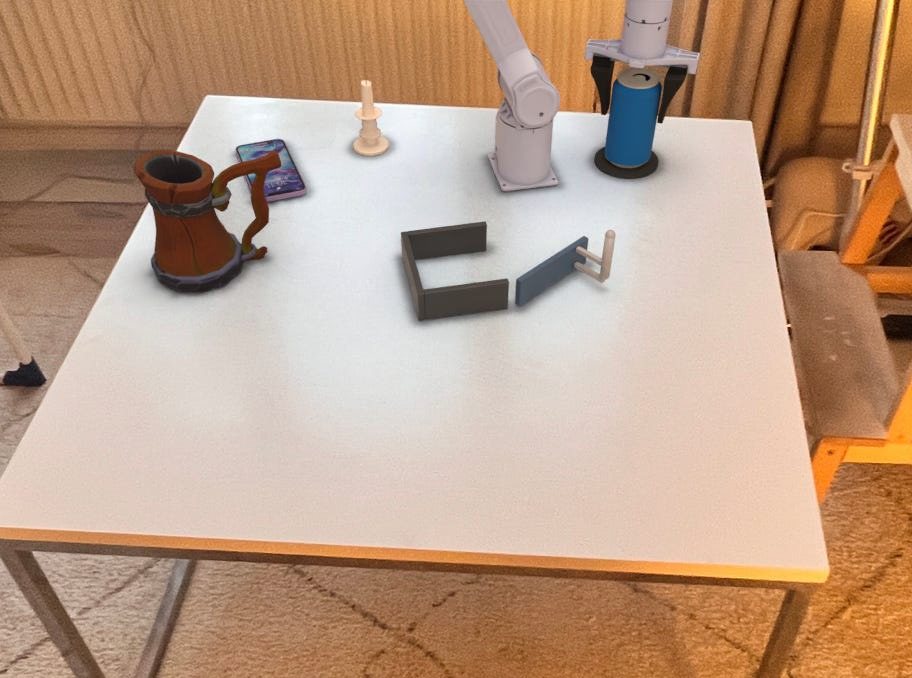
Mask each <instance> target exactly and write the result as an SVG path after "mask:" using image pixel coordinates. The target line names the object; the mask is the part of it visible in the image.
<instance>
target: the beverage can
mask: <svg viewBox="0 0 912 678" xmlns="http://www.w3.org/2000/svg"><path fill="white" fill-rule="evenodd" d="M612 83H613V84H612V87H611V98H610V106H609V111H608V112H609V113H608V120H607V128H606V136H605V145H604V147H605V152H604V154H605V157H606V158H607V159H608V160H609V161H610V162H611V163H612V164H614V165H616V166H618V167H621V168H635V167H639V166H641V165H642V164H644V163H646V162H647V161H648V160H649V159H650V157H651V151H653V145H654V139H655V133H656V127H657V119H658V114H659V110H660V104H661V98H662V92H663V85H662V83H661V75H659V73H657V71H655V70H652V69H649V68H646V67H644V68H635V67H628V68H624V69H622V70H620V71H619V72H618V73H617V77H616V79H615V80H614V81H613V82H612Z"/></svg>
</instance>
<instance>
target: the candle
mask: <svg viewBox="0 0 912 678" xmlns="http://www.w3.org/2000/svg"><path fill="white" fill-rule="evenodd" d="M360 90H361V91H360V92H361V93H360V95H361V107H359V108H357V109H356V110H355V111H354V116H355V118H357V119H359V120H361V128H360V129H359V131H358V135H359V137H358V138H356V139H355V140H354V142H353V144H352V146H353V150H354V152H355V153H356V154H358V155H360V156H363V157H377V156H380V155H383V154H384V153H385V152H387V151H388V150H389V147H390V144H389V140H388V139H387V138H385V137H384V136H382V131H381V129H380V128H379V127H378V121H377V119H379V118H381V116H382V114H383V112H382V109H381V108H380V107H377V106H375V104H374V95H373V94H374V91H373V84H372V81H370V80H368V79H363V80H361V81H360Z"/></svg>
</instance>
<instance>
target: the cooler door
mask: <svg viewBox="0 0 912 678" xmlns="http://www.w3.org/2000/svg"><path fill="white" fill-rule="evenodd" d="M616 234H617V233H616V232H615V231H614V230H613V229H608V230H607V231H605V233H604V239H603V246H602V247H603V248H602V255H601V257H600V256H598V255H596V254H595V253H593V252H591V251H589V250H588V246H589V237H587V236H585V235H582V236H581V237H579V238H578V239H576V240H575V241H573V242H572V243H570V244H569V245H567V246H565V247H564V248H562V249H560V250H559V251H558V252H556V253H555V254H553V255H551V256H550V257H549V258H547V259H545V260H544V261H542V262H540V263H539V264H537V265H535V266H534V267H533V268H531V269H529V270H527V271H526V272H525V273H523V274H522V275H520V276H518V277H517V278H516V279H515V293H514V294H515V295H514V304H515V305H517V306H518V307H521V306H523V305H524V304H526V303H527V302H528V301H530V300H531V299H534V298H535V297H536V296H538V295H539V294H541V293H542V292H543V291H545V290H547V289H548V288H550V287H551V286H553V285H555V284H556V283H557V282H559V281H560V280H563V278H565V277H566V276H568V275H569V274H571V273H573V272H574V271H576V270H578V271H580V272H582V273H584V274H585V275H587V276H589V277H590V278H592V279H593V280H596V281H597V282H599V283H601V284H603V283H604V282H606V281H607V280H609V278H610V276H611V270H612V269H611V268H612V263H613V256H614V250H615V243H616ZM587 260H589V261H591V262H593V263H594V264H597V265H599V267H600V269H599V272H598V271H595V270H593V269H591V268H589V267H588V266H586V265H585V264H586V262H587Z"/></svg>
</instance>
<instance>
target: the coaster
mask: <svg viewBox="0 0 912 678" xmlns="http://www.w3.org/2000/svg"><path fill="white" fill-rule="evenodd" d="M604 152H605V146H602V147H600V148H599V149H598V150H597V151H596V152H595V154H594V160H593V163H594V164H595V167H596V168H597V170H599V171H600V172H602V173H603V174H605V175H607V176H610V177H613V178H617V179H622V180H623V179H624V180H636V179H641V178H646V177H648V176H651V175H652V174H653V173H655V172H656V171H657V168H658V167H659V157H658V155H657V154H656V153H655V152H654V151H653V150H652V151H651V157H650V159H649V160H648V161H647V162H646V163H644V164H642V165H641V166H639V167H635V168H621V167H618V166H616V165H614V164H612V163H611V162H610V161H609V160H608V159H607V158H606V157H605V154H604Z"/></svg>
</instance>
